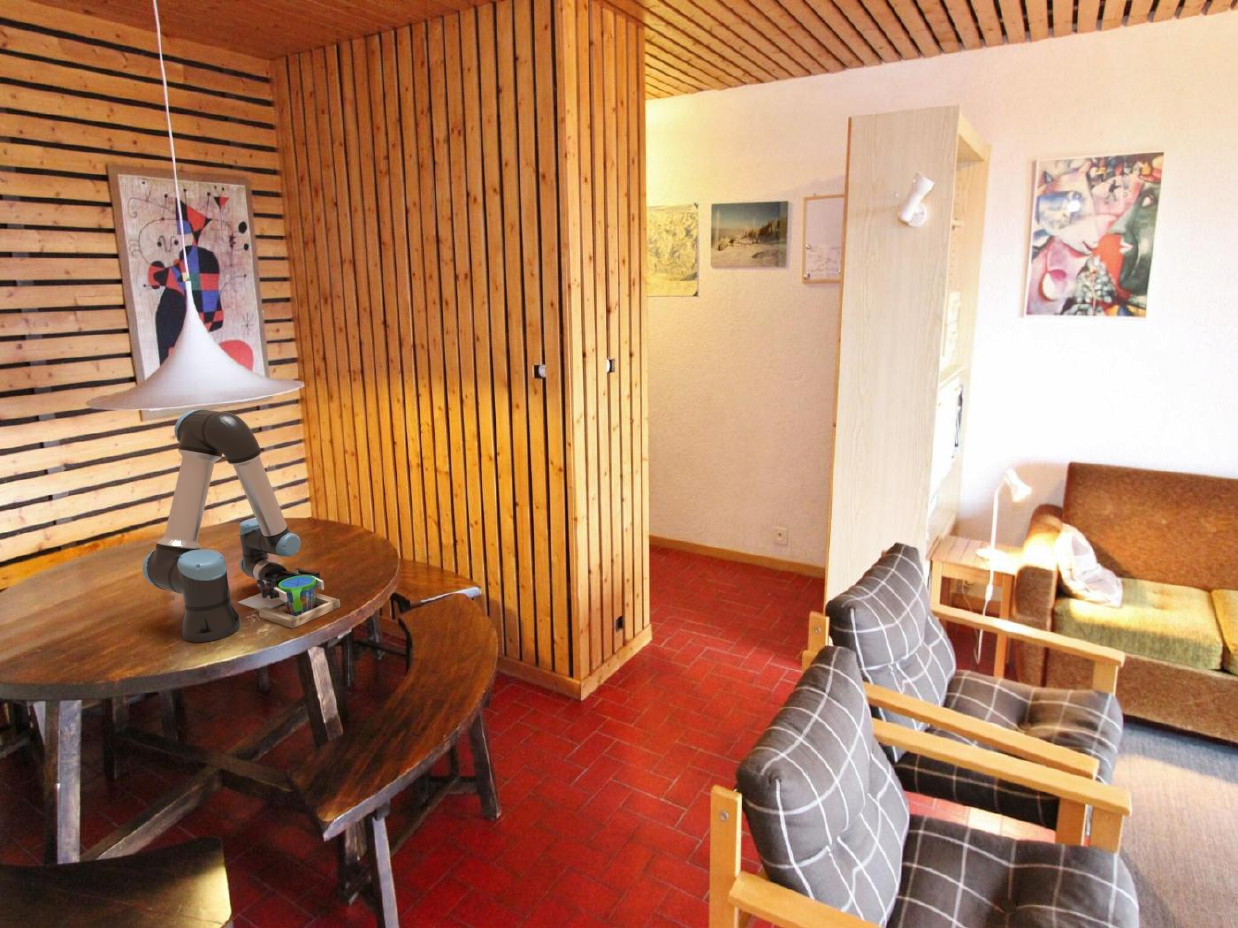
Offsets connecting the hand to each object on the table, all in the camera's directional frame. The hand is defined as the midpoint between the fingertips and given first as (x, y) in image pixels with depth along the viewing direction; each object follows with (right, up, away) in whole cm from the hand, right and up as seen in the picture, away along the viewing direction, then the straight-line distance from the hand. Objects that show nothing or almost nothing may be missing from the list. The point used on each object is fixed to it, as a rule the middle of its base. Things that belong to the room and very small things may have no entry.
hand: (304, 591), depth 226 cm
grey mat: (-17, -5, +14) cm, 22 cm away
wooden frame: (-3, -7, +4) cm, 9 cm away
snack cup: (-3, -7, +5) cm, 9 cm away
